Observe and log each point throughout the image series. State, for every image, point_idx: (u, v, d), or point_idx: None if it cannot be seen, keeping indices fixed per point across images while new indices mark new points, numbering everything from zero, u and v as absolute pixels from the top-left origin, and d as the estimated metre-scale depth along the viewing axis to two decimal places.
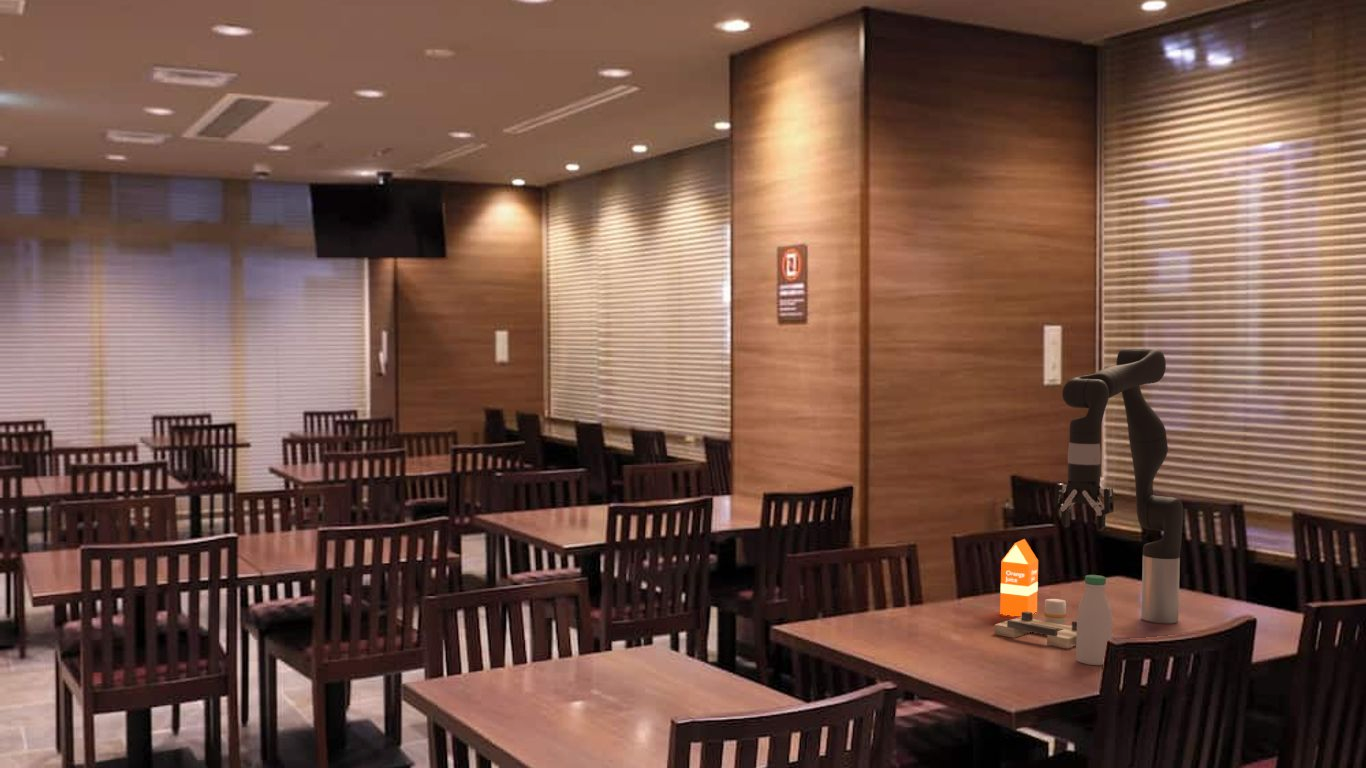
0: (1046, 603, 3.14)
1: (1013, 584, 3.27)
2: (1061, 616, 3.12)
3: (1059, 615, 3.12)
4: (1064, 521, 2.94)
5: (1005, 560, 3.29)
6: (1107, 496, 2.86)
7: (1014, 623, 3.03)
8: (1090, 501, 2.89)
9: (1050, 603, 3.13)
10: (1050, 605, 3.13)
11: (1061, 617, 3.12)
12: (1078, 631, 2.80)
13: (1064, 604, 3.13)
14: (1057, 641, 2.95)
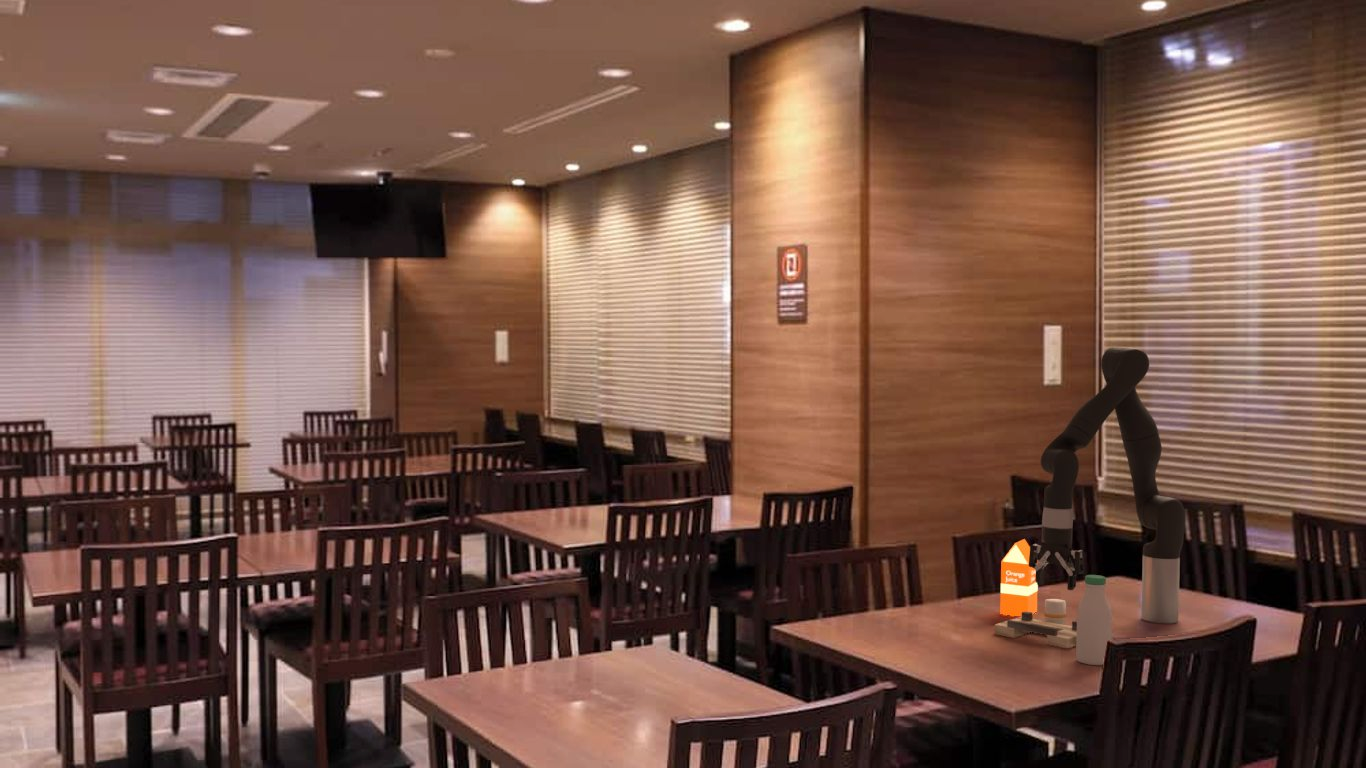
0: (1046, 603, 3.14)
1: (1013, 584, 3.27)
2: (1061, 616, 3.12)
3: (1059, 615, 3.12)
4: (1038, 580, 3.17)
5: (1005, 560, 3.29)
6: (1078, 558, 3.09)
7: (1014, 623, 3.03)
8: (1062, 562, 3.11)
9: (1050, 603, 3.13)
10: (1050, 605, 3.13)
11: (1061, 617, 3.12)
12: (1078, 631, 2.80)
13: (1064, 604, 3.13)
14: (1057, 641, 2.95)
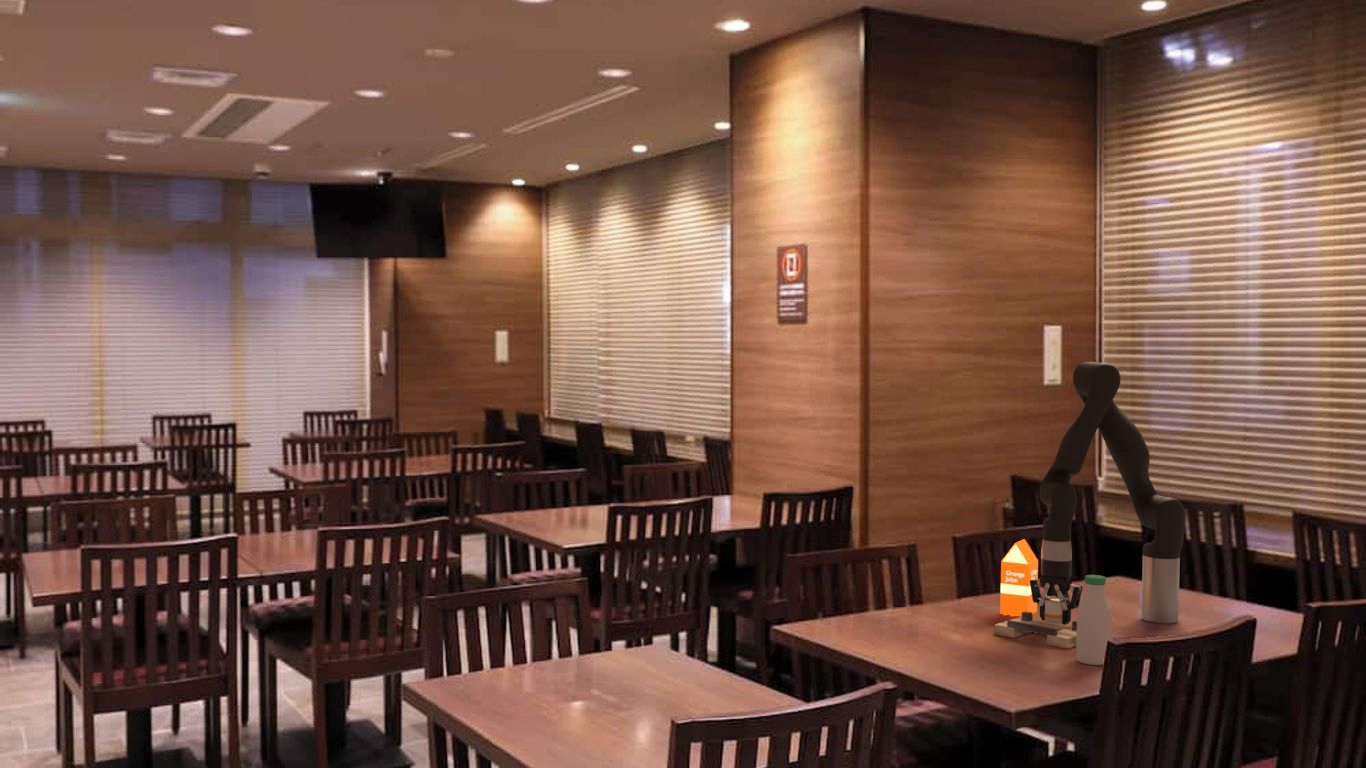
0: (1046, 603, 3.14)
1: (1013, 584, 3.27)
2: (1061, 616, 3.12)
3: (1059, 614, 3.12)
4: (1042, 615, 3.16)
5: (1005, 560, 3.29)
6: (1075, 594, 3.09)
7: (1014, 623, 3.03)
8: (1059, 595, 3.12)
9: (1050, 603, 3.13)
10: (1050, 605, 3.13)
11: (1061, 617, 3.12)
12: (1078, 631, 2.80)
13: None
14: (1057, 641, 2.95)
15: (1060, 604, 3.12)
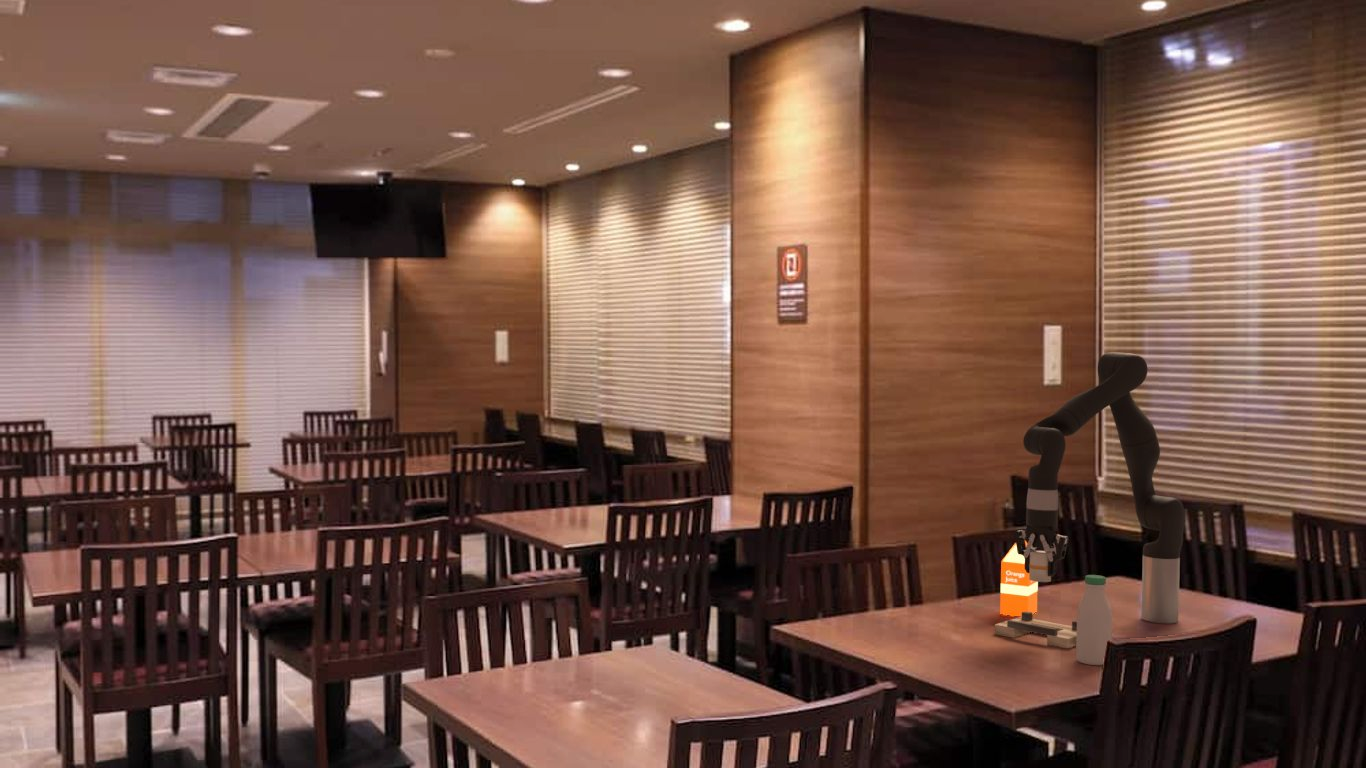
0: (1031, 554, 3.03)
1: (1013, 584, 3.27)
2: (1046, 568, 3.01)
3: (1044, 566, 3.01)
4: (1027, 567, 3.05)
5: (1005, 560, 3.29)
6: (1061, 544, 2.98)
7: (1014, 623, 3.03)
8: (1045, 546, 3.01)
9: (1035, 554, 3.01)
10: (1035, 556, 3.01)
11: (1046, 569, 3.01)
12: (1078, 631, 2.80)
13: None
14: (1057, 641, 2.95)
15: (1045, 555, 3.01)
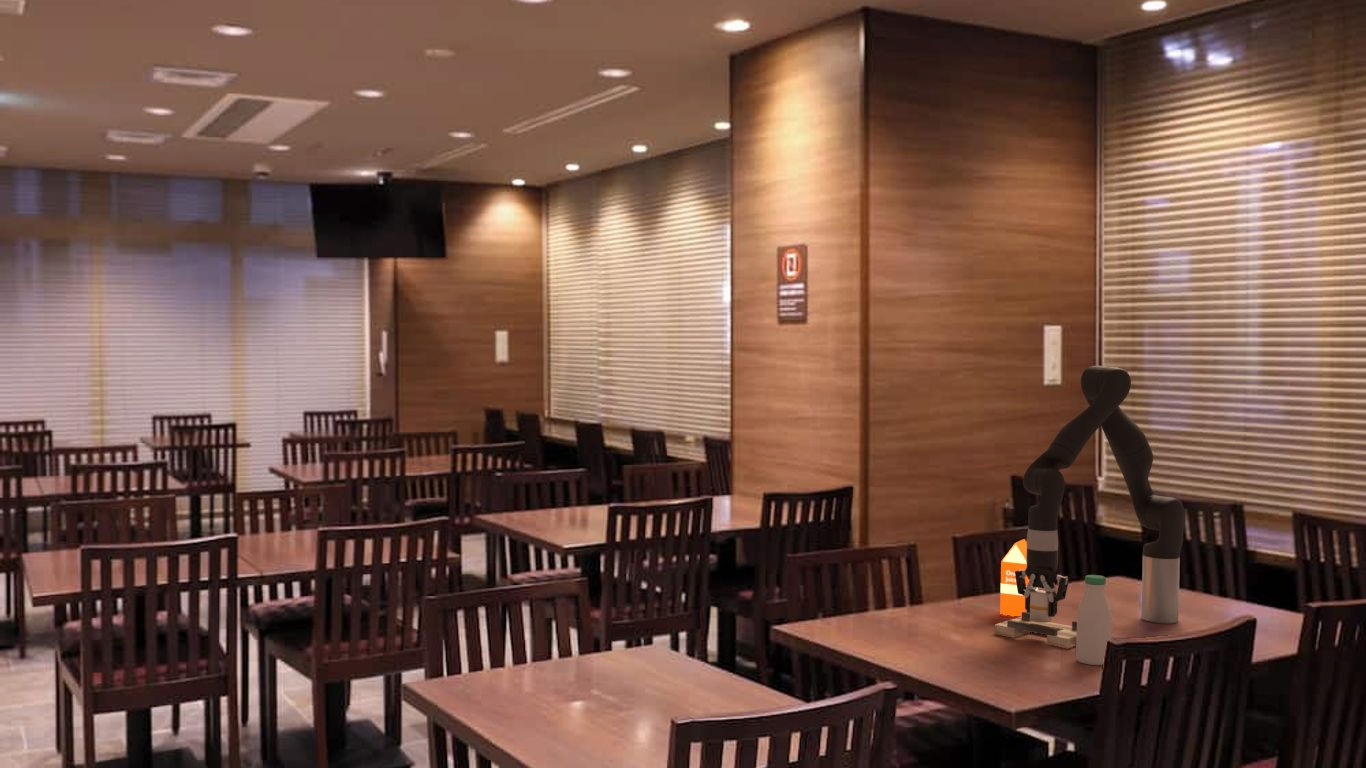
0: (1031, 594, 3.03)
1: (1013, 584, 3.27)
2: (1047, 608, 3.01)
3: (1045, 606, 3.01)
4: (1028, 607, 3.05)
5: (1005, 560, 3.29)
6: (1062, 585, 2.98)
7: (1014, 623, 3.03)
8: (1045, 586, 3.01)
9: (1035, 594, 3.01)
10: (1035, 597, 3.01)
11: (1047, 609, 3.01)
12: (1078, 631, 2.80)
13: None
14: (1057, 641, 2.95)
15: (1046, 596, 3.01)
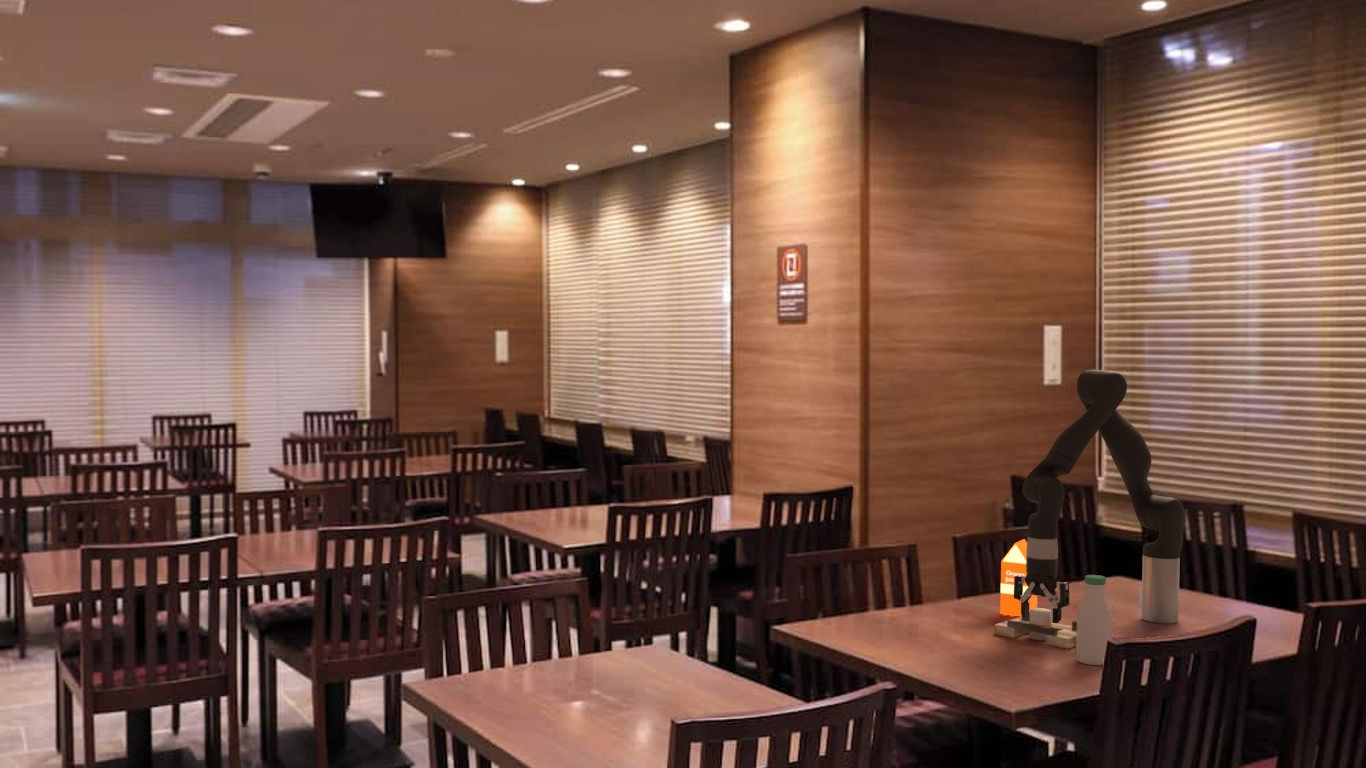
0: (1031, 612, 3.03)
1: (1013, 584, 3.27)
2: (1046, 626, 3.01)
3: (1044, 625, 3.01)
4: (1023, 612, 3.06)
5: (1005, 560, 3.29)
6: (1063, 590, 2.98)
7: (1014, 623, 3.03)
8: (1047, 594, 3.00)
9: (1035, 612, 3.02)
10: (1035, 615, 3.02)
11: None
12: (1078, 631, 2.80)
13: (1050, 614, 3.02)
14: (1057, 641, 2.95)
15: (1045, 614, 3.01)
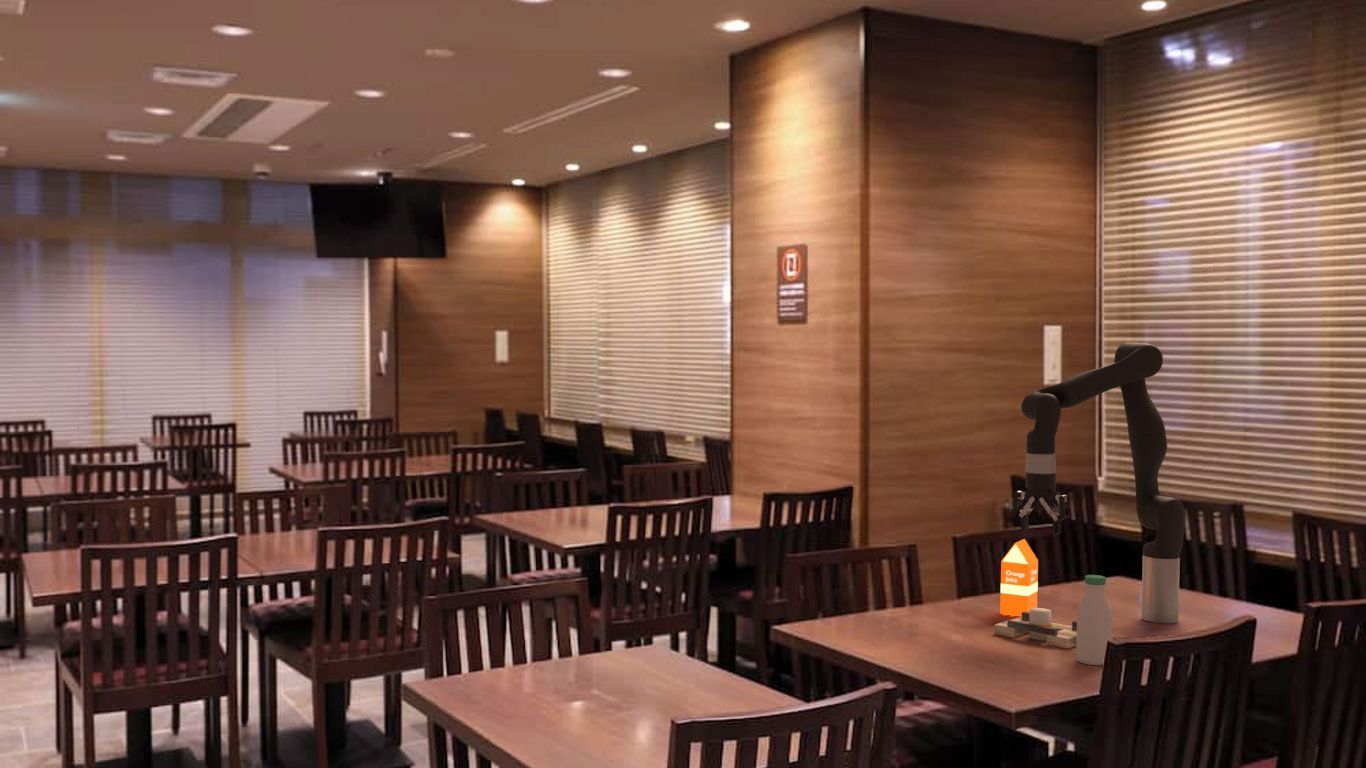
0: (1031, 612, 3.03)
1: (1013, 584, 3.27)
2: (1046, 626, 3.01)
3: (1044, 624, 3.01)
4: (1023, 526, 3.14)
5: (1005, 560, 3.29)
6: (1062, 503, 3.06)
7: (1014, 623, 3.03)
8: (1047, 507, 3.09)
9: (1035, 612, 3.02)
10: (1035, 615, 3.02)
11: None
12: (1078, 631, 2.80)
13: (1049, 613, 3.02)
14: (1057, 641, 2.95)
15: (1045, 614, 3.01)
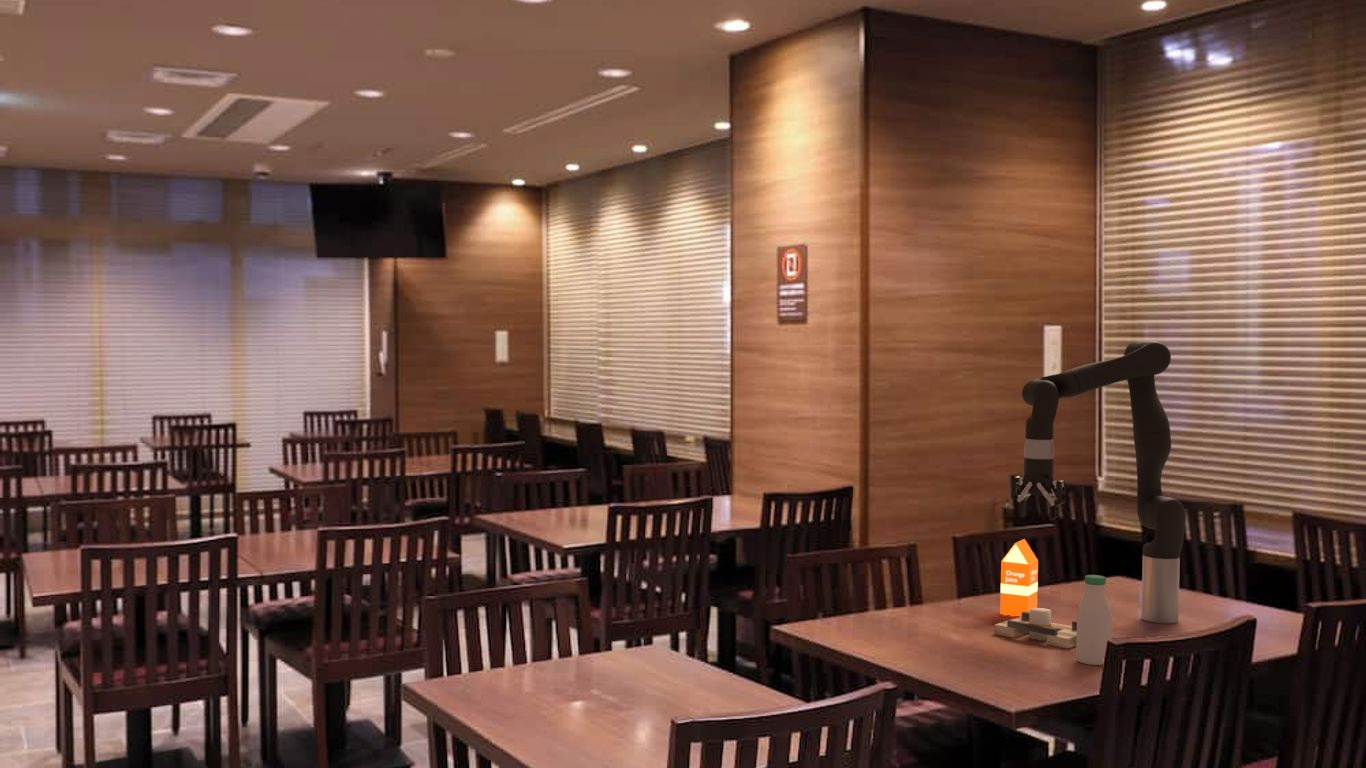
0: (1031, 612, 3.03)
1: (1013, 584, 3.27)
2: (1046, 626, 3.01)
3: (1044, 624, 3.01)
4: (1021, 511, 3.19)
5: (1005, 560, 3.29)
6: (1059, 488, 3.11)
7: (1014, 623, 3.03)
8: (1044, 492, 3.14)
9: (1035, 612, 3.02)
10: (1035, 615, 3.02)
11: None
12: (1078, 631, 2.80)
13: (1049, 613, 3.02)
14: (1057, 641, 2.95)
15: (1045, 613, 3.01)
